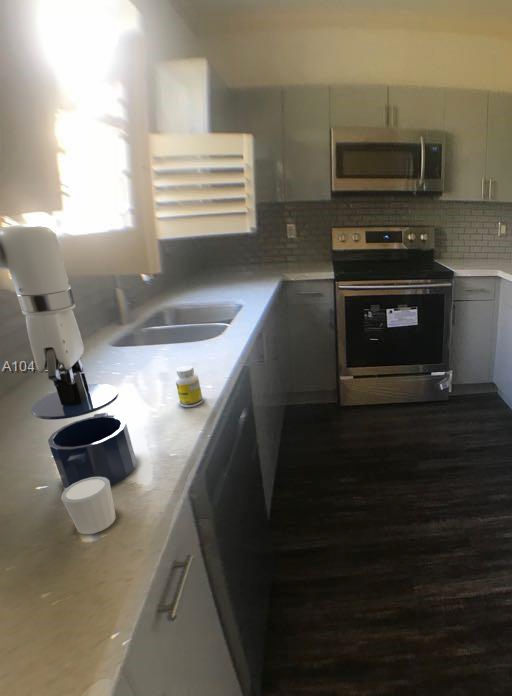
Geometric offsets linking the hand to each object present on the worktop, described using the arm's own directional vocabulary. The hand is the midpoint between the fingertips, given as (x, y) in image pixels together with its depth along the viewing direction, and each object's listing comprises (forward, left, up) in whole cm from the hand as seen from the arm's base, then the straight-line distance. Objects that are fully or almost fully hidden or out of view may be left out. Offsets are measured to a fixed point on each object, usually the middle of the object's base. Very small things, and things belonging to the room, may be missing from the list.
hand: (75, 398), depth 84 cm
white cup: (+3, -16, -17) cm, 23 cm away
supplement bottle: (+15, +27, -17) cm, 35 cm away
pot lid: (0, 0, -1) cm, 1 cm away
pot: (0, 0, -17) cm, 17 cm away
